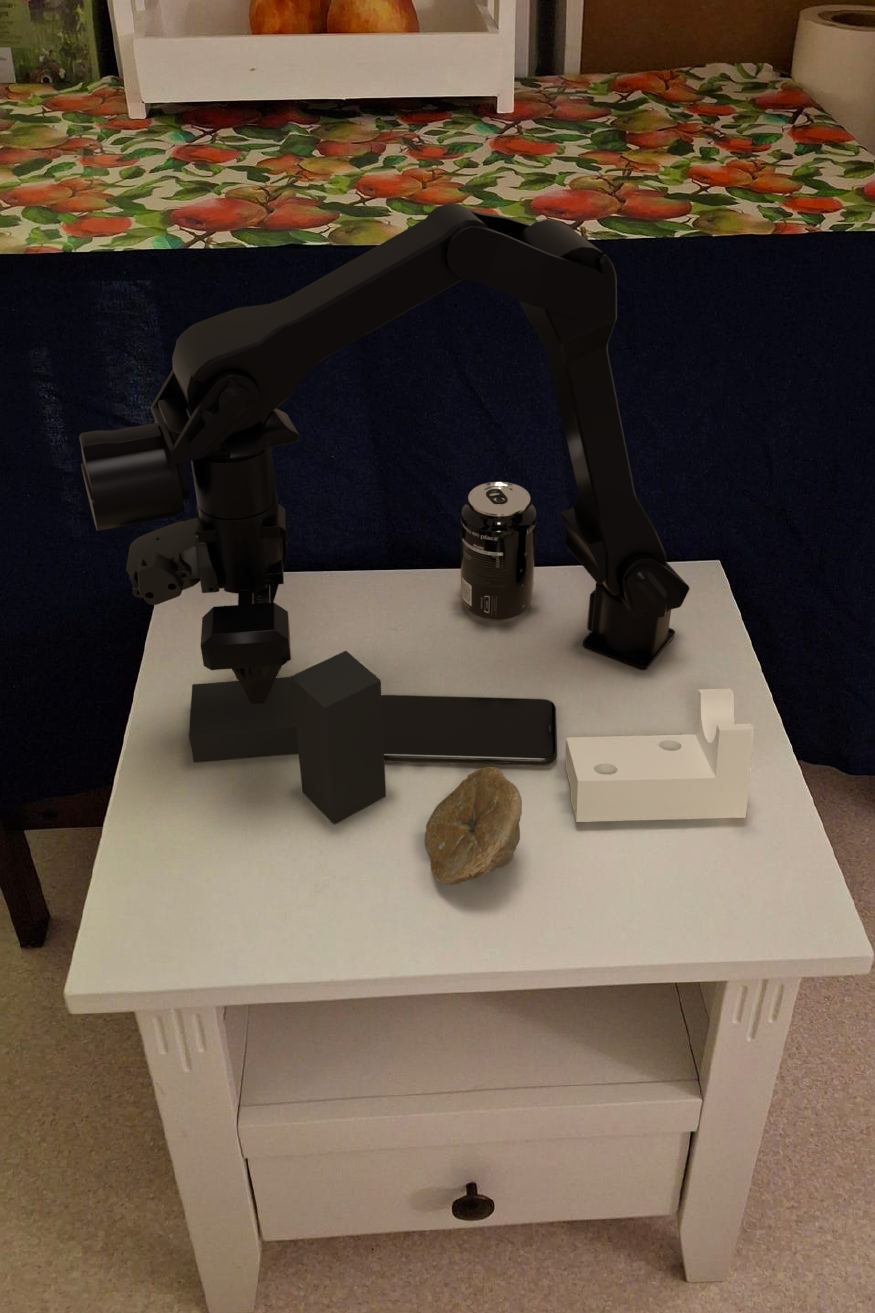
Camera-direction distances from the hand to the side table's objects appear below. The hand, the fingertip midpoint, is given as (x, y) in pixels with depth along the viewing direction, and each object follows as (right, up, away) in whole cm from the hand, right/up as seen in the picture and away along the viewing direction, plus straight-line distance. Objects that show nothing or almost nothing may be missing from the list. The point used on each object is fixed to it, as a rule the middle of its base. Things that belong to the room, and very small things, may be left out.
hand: (257, 665), depth 98 cm
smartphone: (+16, -6, +4) cm, 18 cm away
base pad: (0, -6, +4) cm, 7 cm away
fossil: (+17, -14, -7) cm, 23 cm away
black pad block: (+7, -10, -2) cm, 13 cm away
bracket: (+31, -10, -1) cm, 33 cm away
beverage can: (+20, +5, +18) cm, 28 cm away
